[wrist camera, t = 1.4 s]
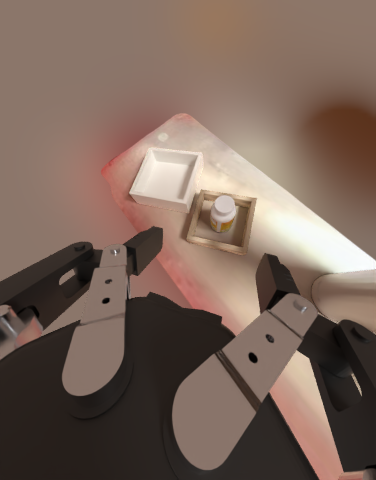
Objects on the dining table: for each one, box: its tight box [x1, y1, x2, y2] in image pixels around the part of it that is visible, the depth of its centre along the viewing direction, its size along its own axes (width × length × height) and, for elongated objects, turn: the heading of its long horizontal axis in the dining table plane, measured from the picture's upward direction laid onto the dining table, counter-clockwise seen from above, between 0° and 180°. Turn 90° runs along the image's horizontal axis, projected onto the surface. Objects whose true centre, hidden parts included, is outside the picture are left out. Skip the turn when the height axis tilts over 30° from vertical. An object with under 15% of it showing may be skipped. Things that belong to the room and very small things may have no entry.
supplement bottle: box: [210, 195, 236, 233], centre depth 34 cm, size 5×5×10 cm
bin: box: [129, 147, 203, 213], centre depth 42 cm, size 16×16×5 cm
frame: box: [186, 190, 257, 256], centre depth 37 cm, size 14×14×3 cm
